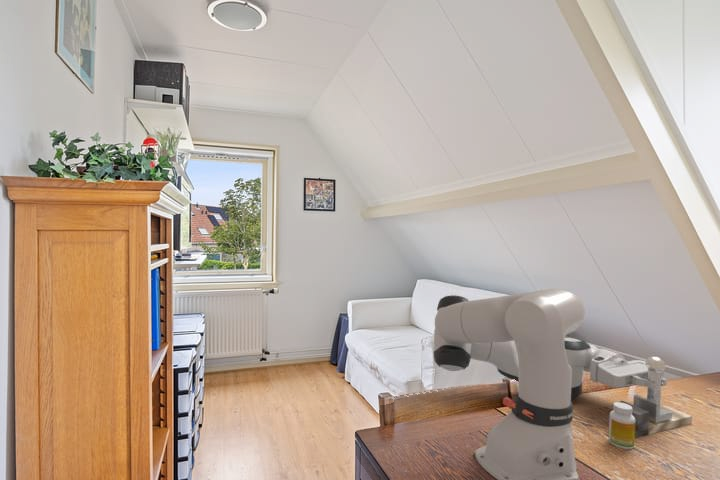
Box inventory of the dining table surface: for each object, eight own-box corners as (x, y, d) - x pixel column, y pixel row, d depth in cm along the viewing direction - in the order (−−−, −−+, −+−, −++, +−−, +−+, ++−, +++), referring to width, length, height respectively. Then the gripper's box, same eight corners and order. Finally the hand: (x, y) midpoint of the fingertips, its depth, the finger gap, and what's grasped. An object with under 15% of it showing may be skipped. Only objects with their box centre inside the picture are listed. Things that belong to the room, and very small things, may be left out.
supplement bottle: (638, 451, 96) (640, 411, 96) (613, 448, 97) (615, 409, 97) (628, 439, 101) (629, 402, 101) (604, 436, 102) (606, 399, 102)
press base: (638, 437, 102) (639, 414, 102) (612, 424, 109) (612, 403, 108) (691, 423, 110) (692, 402, 110) (664, 411, 117) (665, 391, 116)
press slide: (655, 423, 105) (658, 361, 105) (633, 412, 111) (635, 354, 110) (671, 418, 108) (674, 359, 107) (648, 409, 113) (651, 352, 113)
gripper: (634, 372, 125) (683, 389, 112) (586, 381, 117) (633, 401, 104) (635, 352, 124) (684, 367, 111) (587, 360, 117) (634, 378, 104)
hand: (659, 384), depth 108 cm, fingers closed on press slide, 3 cm apart
